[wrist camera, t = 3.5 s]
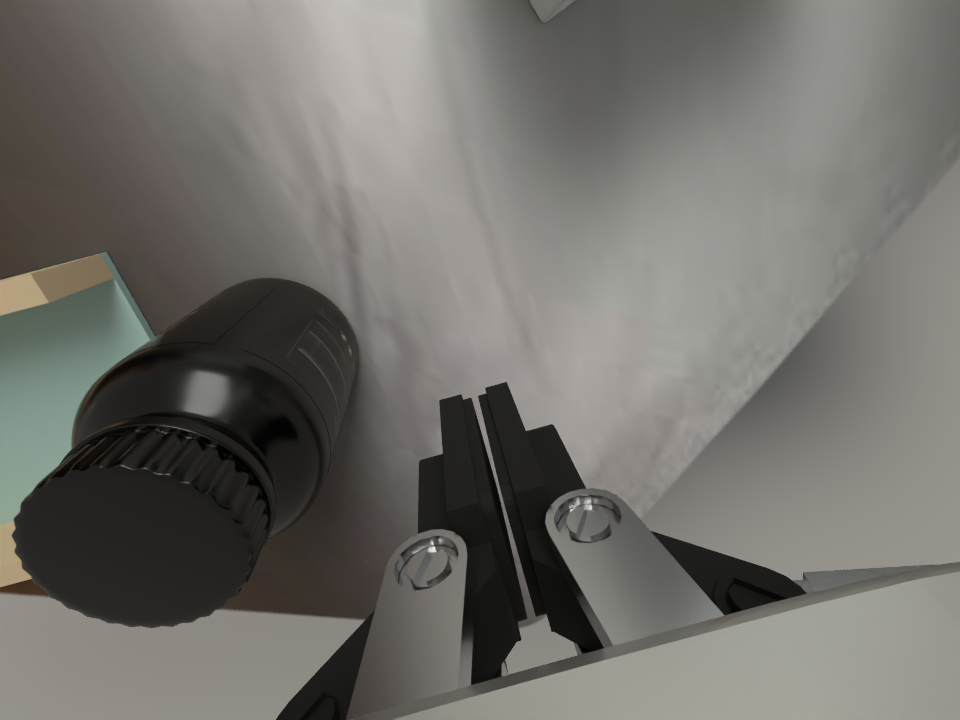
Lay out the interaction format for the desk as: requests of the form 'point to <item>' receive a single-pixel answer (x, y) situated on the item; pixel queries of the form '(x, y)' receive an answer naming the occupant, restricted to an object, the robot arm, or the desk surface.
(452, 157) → the desk surface
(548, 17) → the skincare box
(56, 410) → the wooden tray
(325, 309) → the supplement bottle
